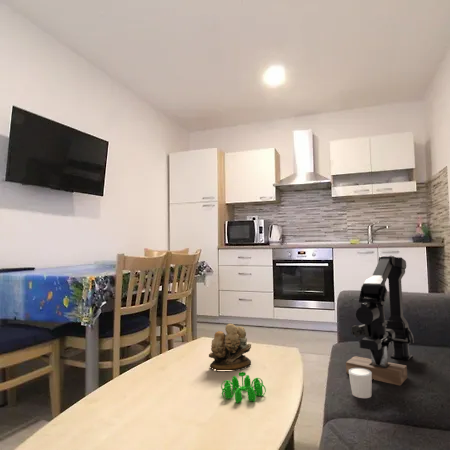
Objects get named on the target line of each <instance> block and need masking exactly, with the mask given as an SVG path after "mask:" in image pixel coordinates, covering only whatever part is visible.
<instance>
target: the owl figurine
mask: <svg viewBox="0 0 450 450" xmlns="http://www.w3.org/2000/svg"><path fill="white" fill-rule="evenodd" d="M225 332H226V333H225ZM225 332H223V331H221V330H218V331H216V332H215V333H214V337H213V339H211V345H210V347H211V348H210V349H211V350H210V351H211V352H210V353H209V354H208V357H209V358H211V359H214V360H213V361H211V363H210V364H209V368H210V367H211V368H213V369H216V370H235V371H237V370H236V369H240V370H243V369H242V368H244V369H246V368H248V367H249V366H251V364H252V360H251V359H249V358H248V357H247V356H246V355H244V354H246V353H248V352H250V351H251V349H252V343H247V342H248V337H247V332H246V329H245V327H243V326H241V325H240V326H236V325H235V324H234V323H228V324H226V326H225ZM245 367H246V368H245Z"/></svg>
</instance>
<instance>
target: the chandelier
mask: <svg viewBox="0 0 450 450" xmlns="http://www.w3.org/2000/svg"><path fill="white" fill-rule="evenodd" d="M238 377H241V384H242V385H240V383H239V382H240V381H239V378H238ZM238 377H237V376H236V375H233V376H232V377H231V381H230V380H228V379H227V380H224V381H223V382H222V383H221V386H220V387H221V396H222V398H223V399H224V400H227V399H232V398H233V397H234V401H235V403H236V404H239V403H240V402H242V400H243V394H242V392H244V391H245V392H246V393H247V399H248V401H252V403H255V401H256V399H257V397H258V396H259V397H263V396H265V394H266V391H267V388H266V386H265V385H264V382H263V379H261V378H260V377H255V378H253V380H252V381H251V378H250V375H249V374H247V373H246V372H244V371H241V372H238ZM260 381H261V382H260ZM263 391H264V393H263ZM224 392H225V393H224Z"/></svg>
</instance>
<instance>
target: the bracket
mask: <svg viewBox="0 0 450 450" xmlns="http://www.w3.org/2000/svg"><path fill="white" fill-rule="evenodd" d="M382 346H384V345H382ZM388 357H389V356H388V350H387V346H385V348H384V352H383V355H382V359H381V362H380V365H376V363H375V360H374V357H373V355H372V353H371V352H370V359H371V361H372V366H376V367H381V368H386V369H387V368H388V362H389V361H388V359H389V358H388Z"/></svg>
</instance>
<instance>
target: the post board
mask: <svg viewBox="0 0 450 450" xmlns="http://www.w3.org/2000/svg"><path fill="white" fill-rule="evenodd" d="M352 368H364V369H368V370H370V371H371V372H372V380H373V379H374V381H377V382H378V381H379V382H383V383H387V384H390V385H396V386H401V385H402V384H403V383H404V382H405V381H406V380H407V379H408V369H407V368H408V367H407V365H405V364H399V363H393V362H389V361H388V368H387V369H386V368H381V367H376V366H372V361H371V358H368V357H362V356H357V355H354V356H352V357H351V358H350V359H348V360H347V361H346V362H345V371H346V375H349V370H350V369H352Z"/></svg>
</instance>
